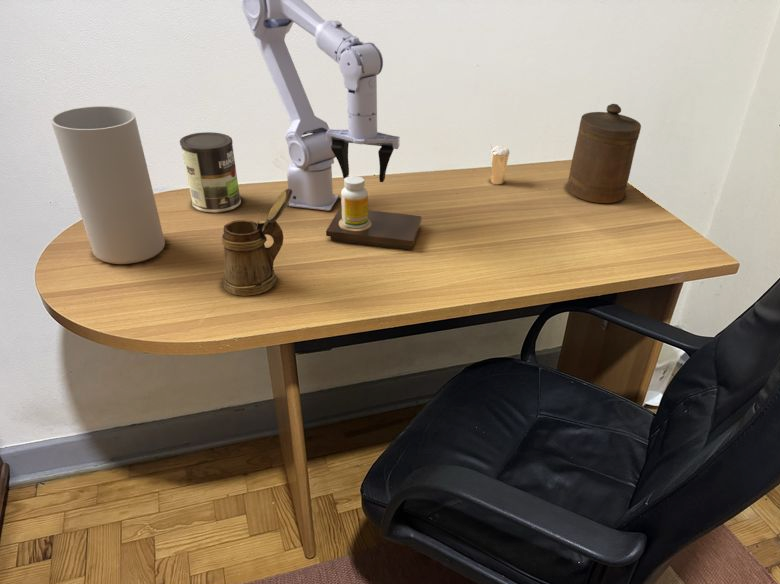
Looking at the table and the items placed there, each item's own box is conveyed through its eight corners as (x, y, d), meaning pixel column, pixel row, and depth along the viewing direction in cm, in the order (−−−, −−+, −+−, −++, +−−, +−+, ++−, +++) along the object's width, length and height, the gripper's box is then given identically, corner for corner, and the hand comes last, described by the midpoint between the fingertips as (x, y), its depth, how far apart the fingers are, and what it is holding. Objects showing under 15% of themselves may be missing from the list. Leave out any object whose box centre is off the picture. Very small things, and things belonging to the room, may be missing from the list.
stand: (326, 241, 129) (325, 230, 127) (341, 217, 138) (340, 205, 137) (412, 251, 128) (413, 240, 127) (421, 226, 138) (421, 215, 136)
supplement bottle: (337, 221, 131) (335, 177, 125) (359, 215, 134) (358, 172, 128) (350, 231, 128) (349, 186, 122) (373, 225, 131) (372, 181, 125)
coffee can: (249, 197, 143) (240, 135, 134) (228, 215, 134) (217, 151, 126) (206, 190, 143) (195, 129, 135) (183, 209, 135) (169, 144, 127)
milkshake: (482, 179, 162) (486, 141, 156) (500, 177, 164) (505, 140, 158) (490, 186, 159) (494, 147, 153) (508, 184, 161) (513, 146, 155)
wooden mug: (301, 293, 113) (292, 200, 102) (222, 297, 110) (204, 201, 99) (300, 268, 120) (291, 178, 109) (225, 271, 116) (209, 179, 106)
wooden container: (633, 193, 163) (656, 106, 150) (606, 209, 154) (627, 118, 140) (585, 176, 170) (602, 92, 157) (555, 190, 160) (571, 102, 147)
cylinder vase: (85, 244, 120) (42, 111, 105) (152, 229, 127) (121, 102, 112) (105, 272, 113) (62, 134, 98) (175, 254, 120) (145, 123, 105)
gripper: (320, 113, 119) (324, 181, 128) (394, 121, 119) (394, 189, 127) (330, 103, 125) (334, 169, 133) (401, 111, 125) (401, 176, 133)
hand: (364, 178), depth 131 cm, fingers open, 7 cm apart
